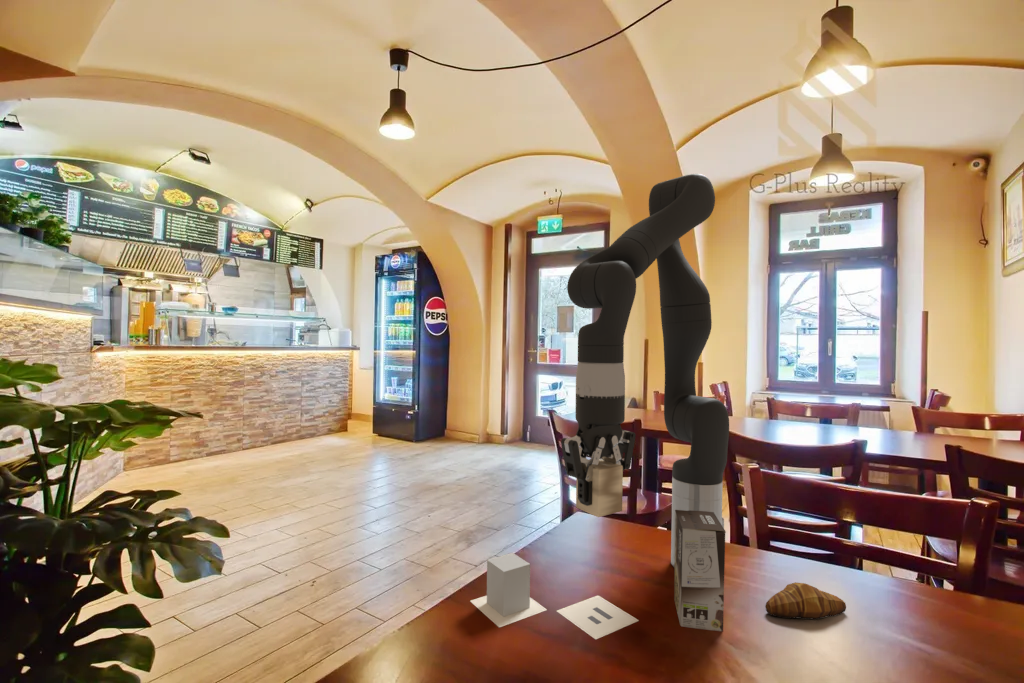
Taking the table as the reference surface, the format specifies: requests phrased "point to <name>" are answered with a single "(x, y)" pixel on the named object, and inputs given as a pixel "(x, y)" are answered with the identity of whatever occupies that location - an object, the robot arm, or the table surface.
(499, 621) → the code tile
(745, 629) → the table surface
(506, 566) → the grey block
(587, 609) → the code tile
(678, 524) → the coffee box
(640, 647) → the table surface
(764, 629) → the table surface
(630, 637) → the table surface
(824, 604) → the croissant
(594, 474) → the maple block
